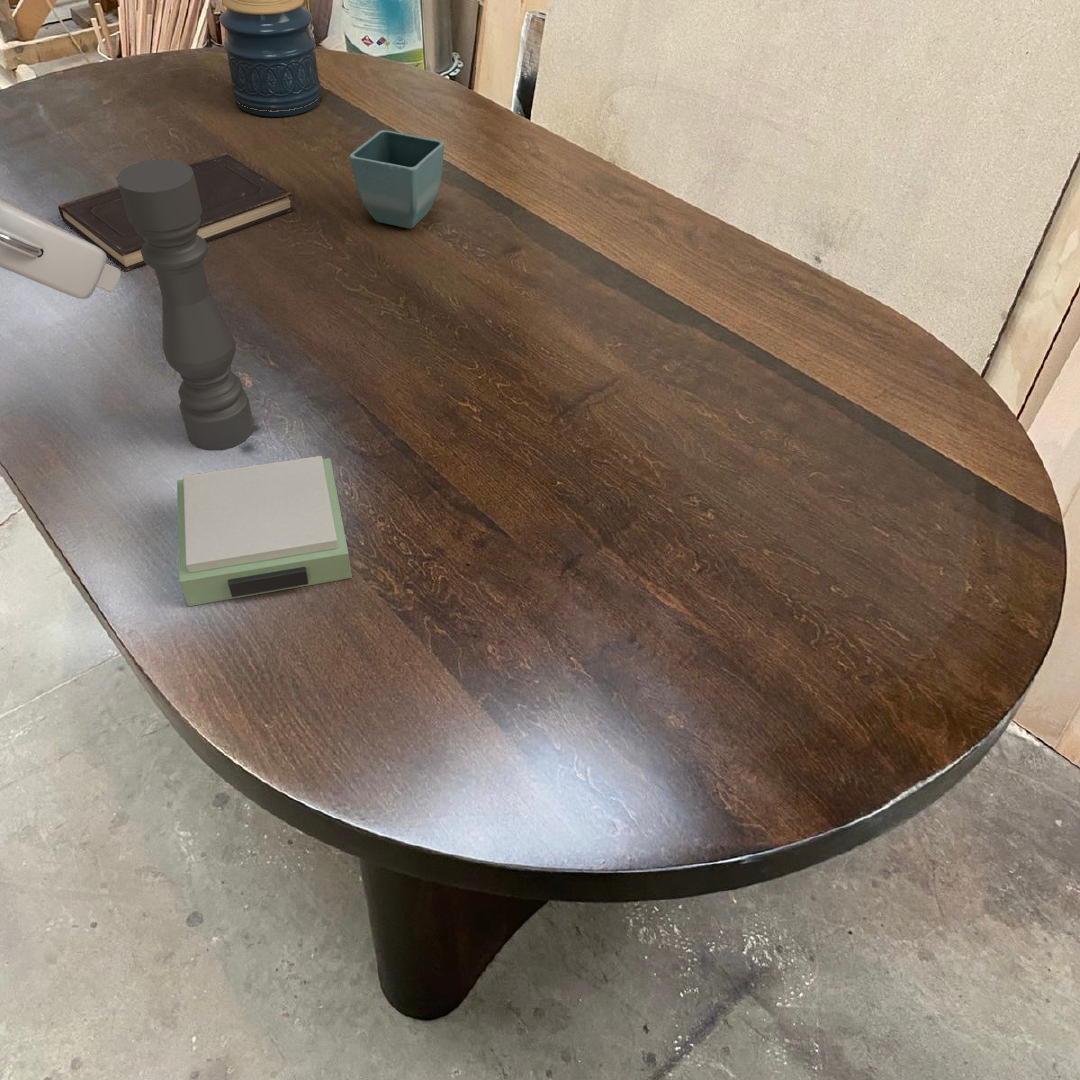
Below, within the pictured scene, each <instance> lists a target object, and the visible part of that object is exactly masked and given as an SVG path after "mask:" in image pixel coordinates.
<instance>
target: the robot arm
mask: <svg viewBox="0 0 1080 1080" xmlns="http://www.w3.org/2000/svg"><path fill="white" fill-rule="evenodd" d="M107 260H108V257H107V256H106V253H105V252H104V251H103V250H101V249H100V248H98V247H97V246H95V245H93V244H91V243H90V242H89V241H87V240H86V239H85V238H83V237H80V236H78V235H75V234H74V233H72V232H70V231H68V230H66V229H64V228H62V227H60V226H58V225H56V224H54V223H52V222H50V221H48V220H47V219H45V218H43V217H40V216H38V215H37V214H35V213H33V212H31V211H29V210H27V209H25V208H24V207H21V206H19V205H17V204H15V203H13V202H11V201H9V200H7V199H5V198H3V197H1V196H0V267H1V268H3V269H5V270H7V271H9V272H12V273H14V274H17V275H19V276H21V277H24V278H26V279H29V280H31V281H33V282H36V283H38V284H41V285H43V286H45V287H48V288H50V289H53V290H55V291H58V292H60V293H62V294H65V295H67V296H70V297H73V298H76V299H81V300H86V299H90V298H91V297H92V295H93V294H94V291H95V290H96V288H99V289H101V290H103V291H106V292H110V293H111V292H113V291H115V289H116V288H117V285H118V283H119V282H120V278H121V277H122V272H121V270H120V269H119V268H117V267H115V266H113V265H111V264H109V263H107Z"/></svg>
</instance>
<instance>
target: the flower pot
mask: <svg viewBox="0 0 1080 1080" xmlns="http://www.w3.org/2000/svg"><path fill="white" fill-rule="evenodd" d="M444 152H445V142H444V141H443V140H438V139H435V138H434V139H433V138H428V137H423V136H418V135H413V134H405V133H401V132H396V131H392V130H387V129H386V130H385V129H380V130H379V131H377V132H376V133H375V134H374V135H373V136H371V137H370V138H369V139H368V140H366V141H365V142H364V143H362V144H361V145H360V146H358V147H357V148H356V149H355V150H354V151H352V152H351V153H350V154H349V155H348V157H349V162H350V166H351V170H352V174H353V178H354V181H355V182H354V183H355V186H356V191H357V193H358V196H359V198H360V201H361V203H362V205H363V206H364V208H365V209H366V211H367V212H368V213H369V215H370V216H371V217H372V218H373V219H374V221H375V222H377V223H381V224H386V225H391V226H395V227H396V226H397V227H399V228H404V229H408V230H409V229H410V230H411V229H413V228H415V226H417V224H419V222H421V221H422V219H424V218H425V217H426V216H427V215H428V213H429V212H430V210H431V208H432V207H433V205H434V203H435V200H436V198H437V196H438V193H439V190H440V186H441V183H442V174H443V167H444V166H443V164H444V155H445V154H444Z"/></svg>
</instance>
